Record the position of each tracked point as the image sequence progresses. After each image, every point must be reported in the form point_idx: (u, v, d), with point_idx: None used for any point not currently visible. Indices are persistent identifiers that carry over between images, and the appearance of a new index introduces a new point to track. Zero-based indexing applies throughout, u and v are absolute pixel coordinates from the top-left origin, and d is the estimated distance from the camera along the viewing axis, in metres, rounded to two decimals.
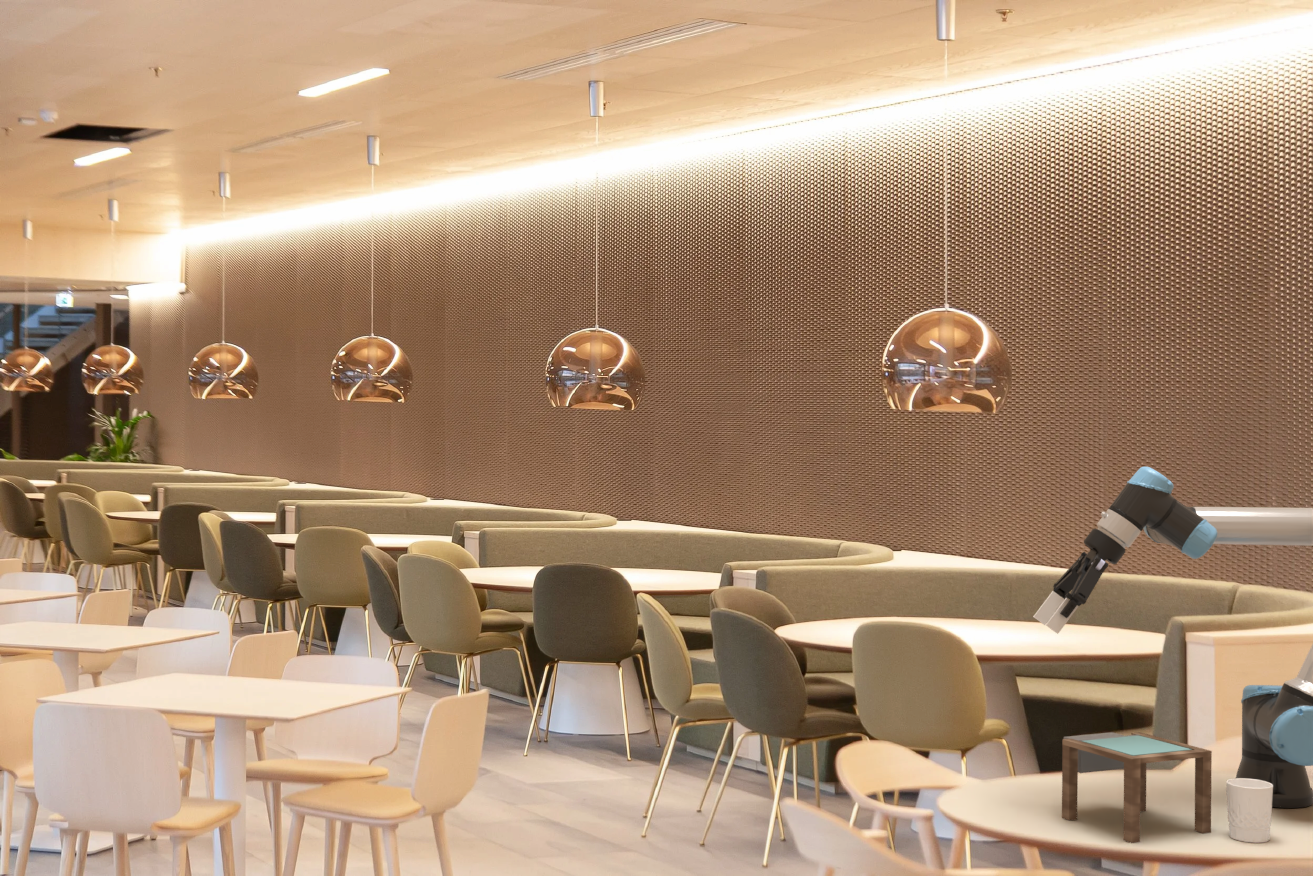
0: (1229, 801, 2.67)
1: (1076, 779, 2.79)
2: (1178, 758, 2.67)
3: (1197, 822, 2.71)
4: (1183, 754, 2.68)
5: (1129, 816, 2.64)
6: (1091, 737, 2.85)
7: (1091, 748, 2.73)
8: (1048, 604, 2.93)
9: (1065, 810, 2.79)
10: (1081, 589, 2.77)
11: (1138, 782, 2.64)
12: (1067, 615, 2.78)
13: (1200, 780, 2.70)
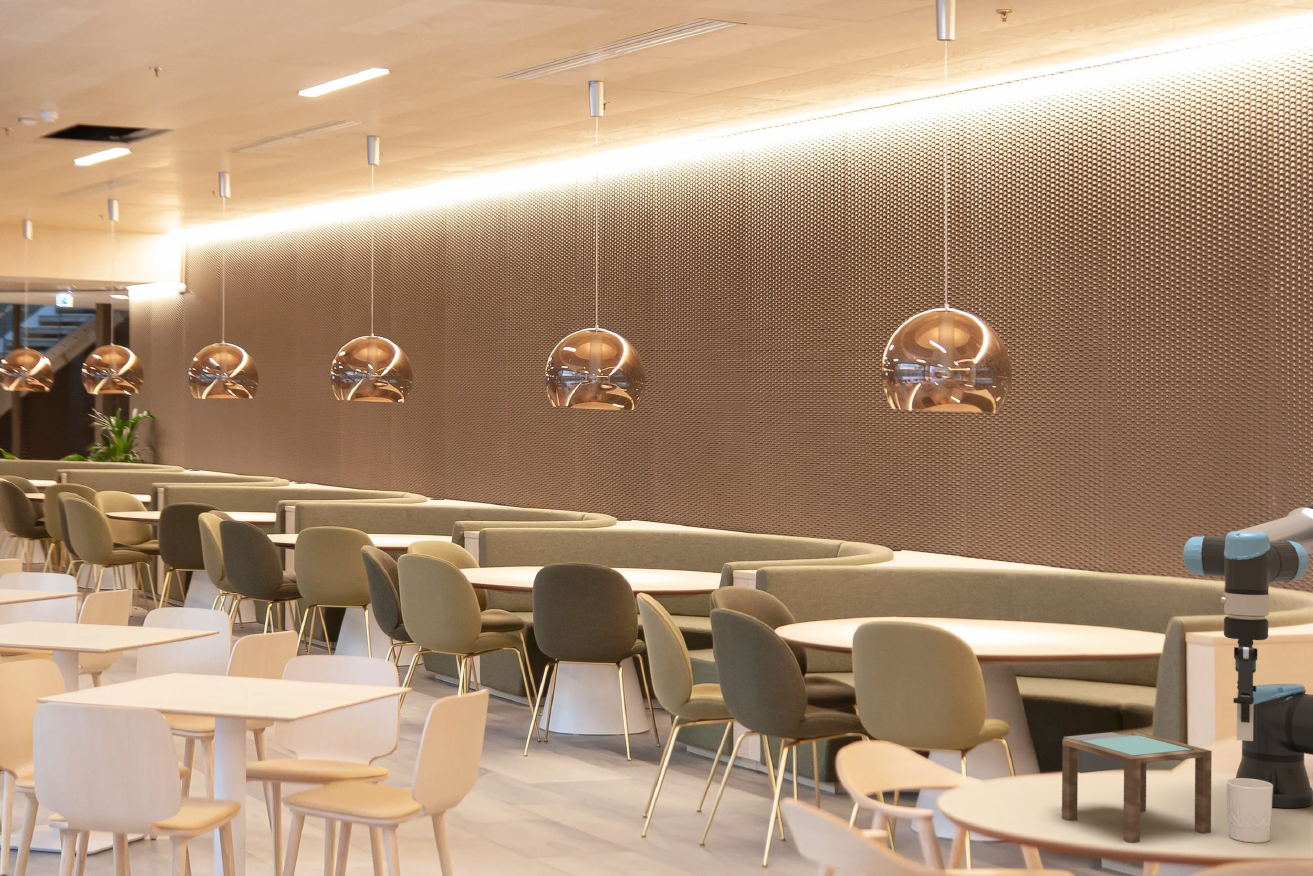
0: (1229, 801, 2.67)
1: (1076, 779, 2.79)
2: (1178, 758, 2.67)
3: (1197, 822, 2.71)
4: (1183, 754, 2.68)
5: (1129, 816, 2.64)
6: (1091, 737, 2.85)
7: (1091, 748, 2.73)
8: None
9: (1065, 810, 2.79)
10: (1241, 689, 2.59)
11: (1138, 782, 2.64)
12: (1247, 719, 2.59)
13: (1200, 780, 2.70)
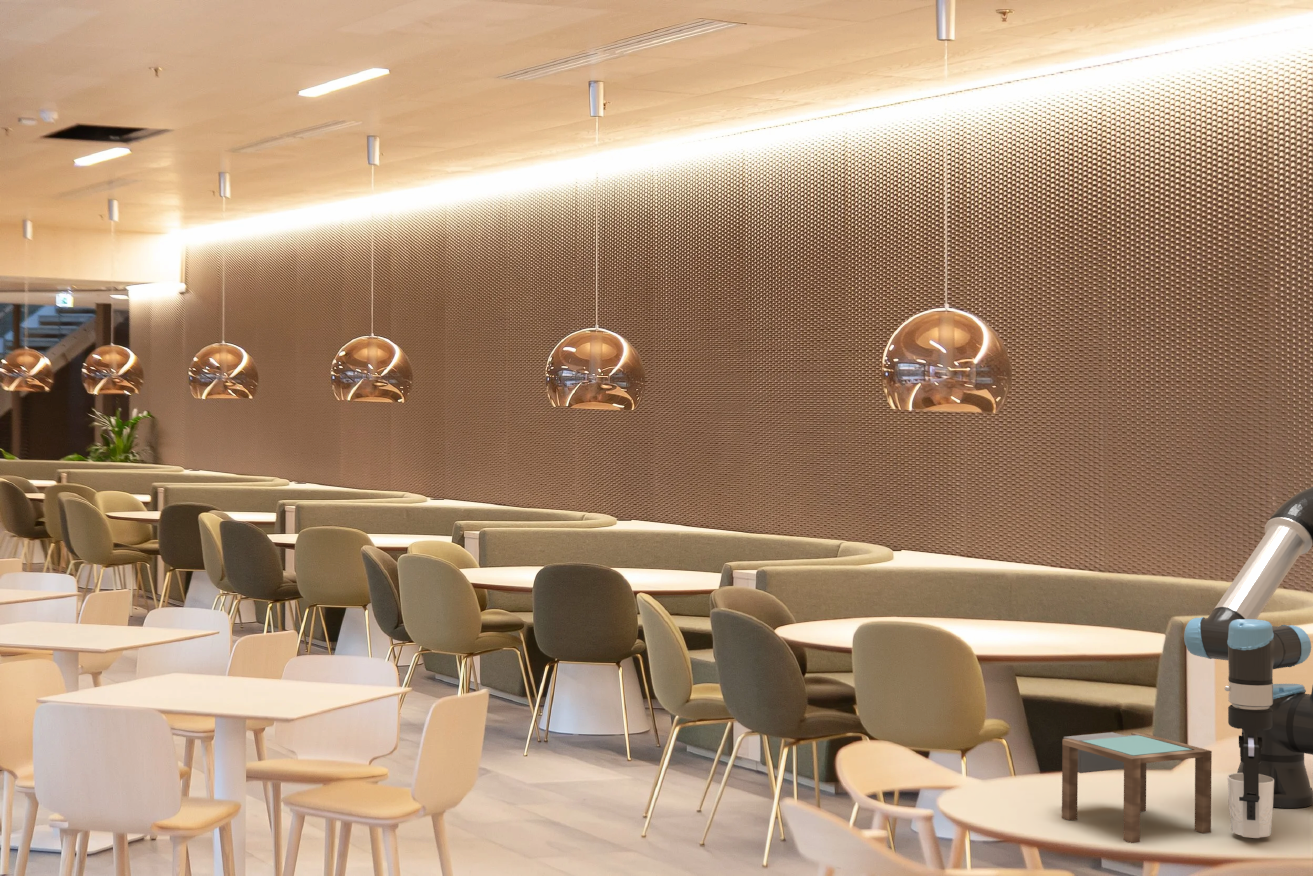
0: (1230, 796, 2.67)
1: (1076, 779, 2.79)
2: (1178, 758, 2.67)
3: (1197, 822, 2.71)
4: (1183, 754, 2.68)
5: (1129, 816, 2.64)
6: (1091, 737, 2.85)
7: (1091, 748, 2.73)
8: None
9: (1065, 810, 2.79)
10: (1247, 788, 2.61)
11: (1138, 782, 2.64)
12: (1253, 817, 2.62)
13: (1200, 780, 2.70)
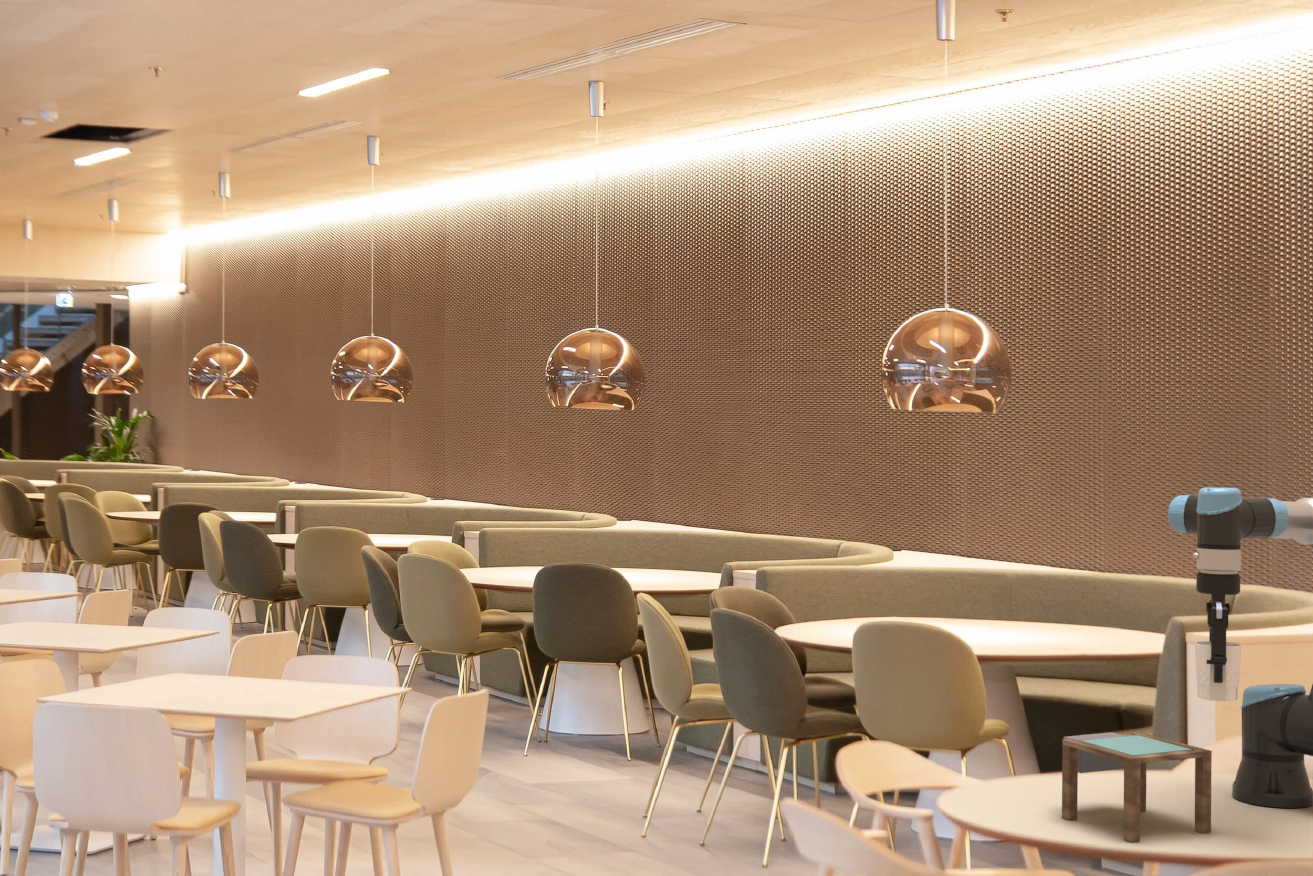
0: (1198, 661, 2.68)
1: (1076, 779, 2.79)
2: (1178, 758, 2.67)
3: (1197, 822, 2.71)
4: (1183, 754, 2.68)
5: (1129, 816, 2.64)
6: (1091, 737, 2.85)
7: (1091, 748, 2.73)
8: None
9: (1065, 810, 2.79)
10: (1215, 650, 2.62)
11: (1138, 782, 2.64)
12: (1220, 680, 2.63)
13: (1200, 780, 2.70)
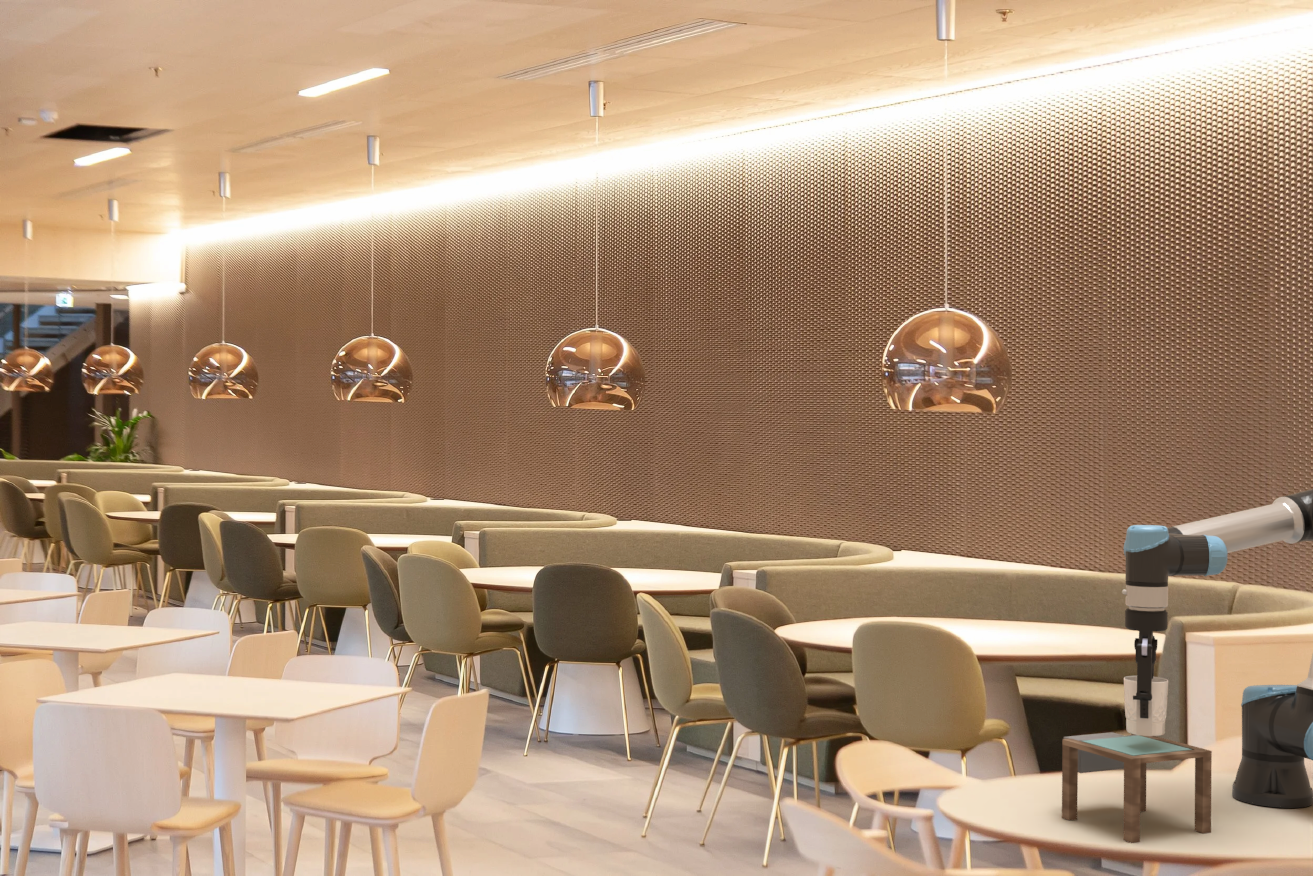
0: (1126, 696, 2.73)
1: (1076, 779, 2.79)
2: (1178, 758, 2.67)
3: (1197, 822, 2.71)
4: (1183, 754, 2.68)
5: (1129, 816, 2.64)
6: (1091, 737, 2.85)
7: (1091, 748, 2.73)
8: None
9: (1065, 810, 2.79)
10: (1140, 686, 2.67)
11: (1138, 782, 2.64)
12: (1146, 715, 2.68)
13: (1200, 780, 2.70)
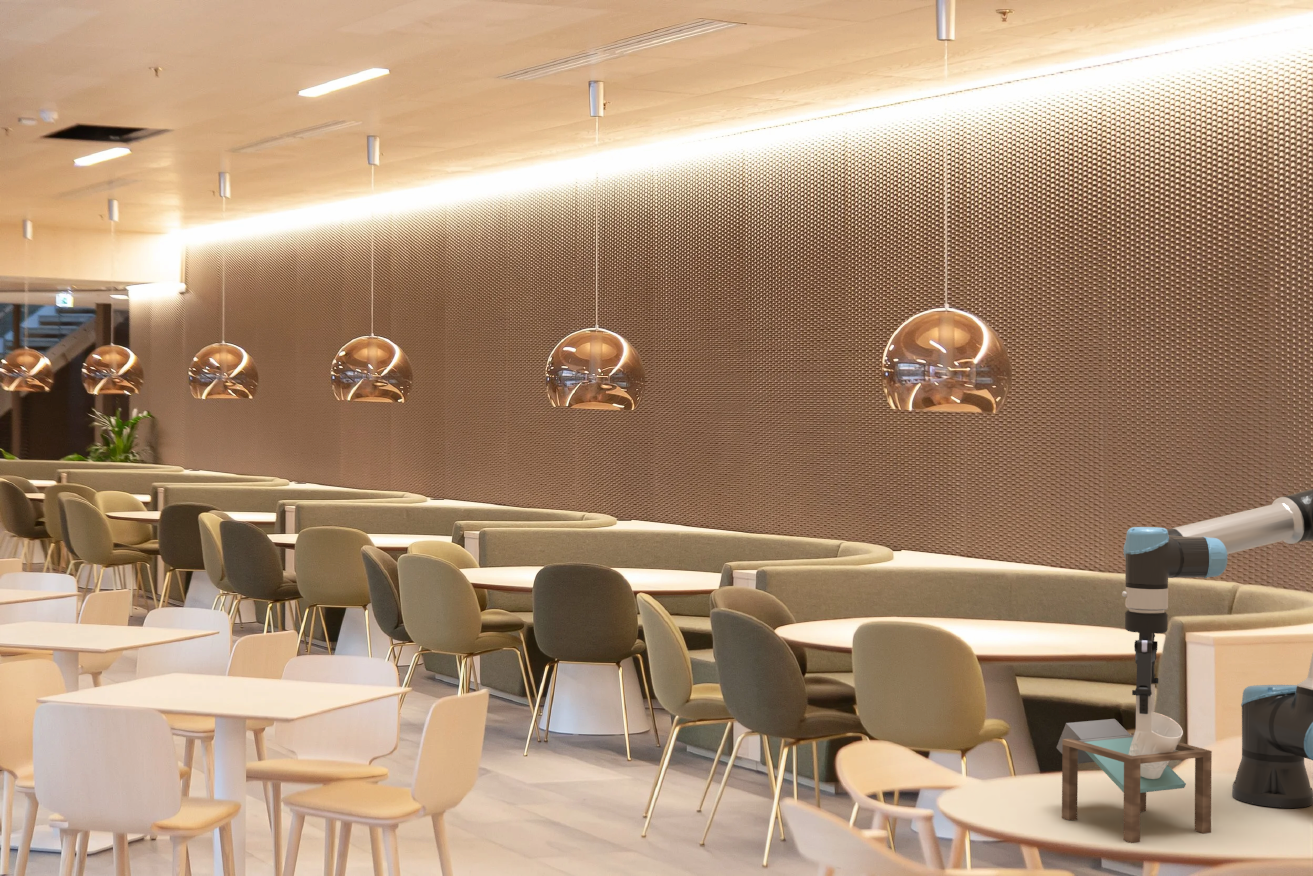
0: (1136, 737, 2.72)
1: (1076, 779, 2.79)
2: (1178, 758, 2.67)
3: (1197, 822, 2.71)
4: (1183, 754, 2.68)
5: (1129, 816, 2.64)
6: (1092, 729, 2.84)
7: (1091, 748, 2.73)
8: None
9: (1065, 810, 2.79)
10: (1139, 681, 2.65)
11: (1138, 782, 2.64)
12: (1146, 711, 2.65)
13: (1200, 780, 2.70)
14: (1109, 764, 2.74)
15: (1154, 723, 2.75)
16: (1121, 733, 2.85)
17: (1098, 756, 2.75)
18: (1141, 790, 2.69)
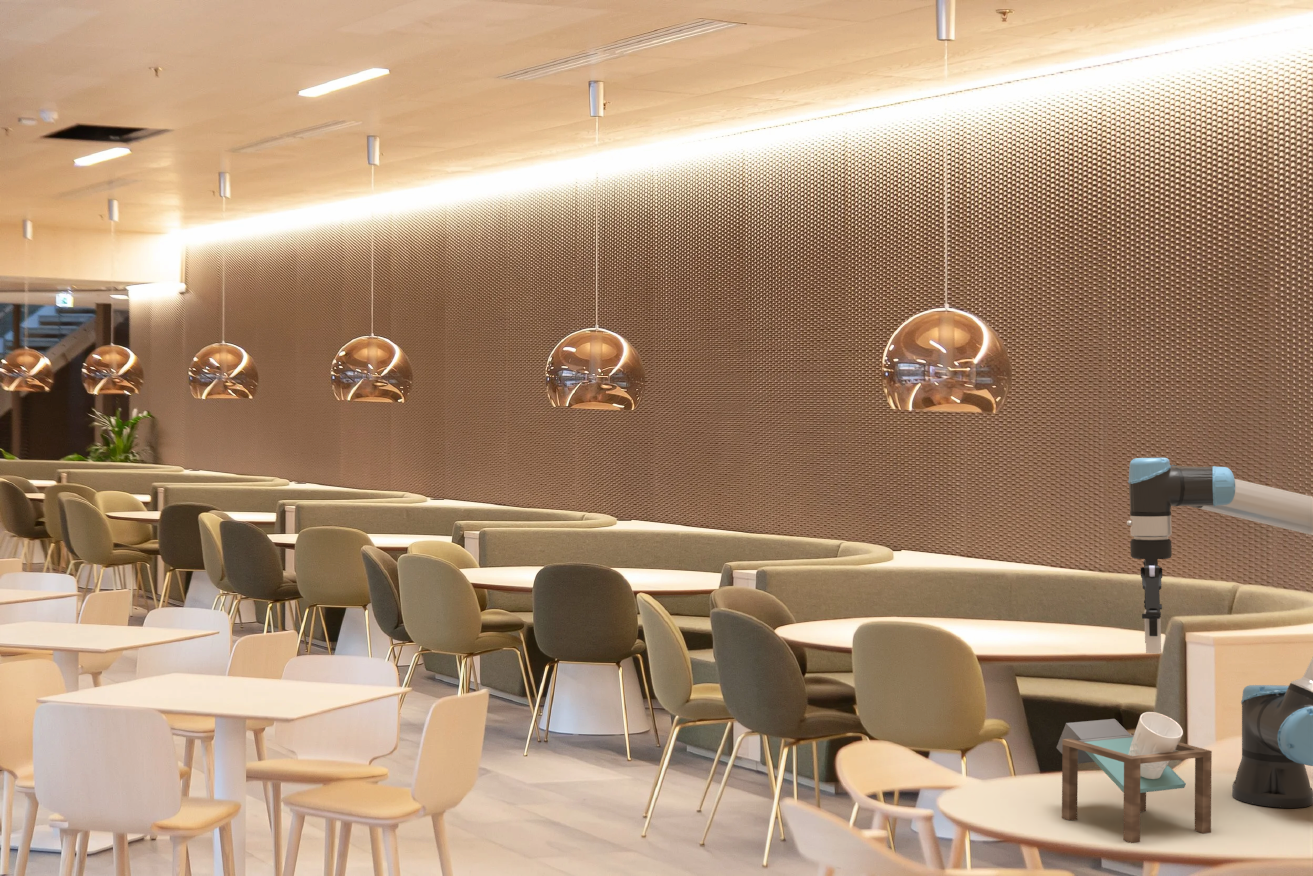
0: (1136, 737, 2.72)
1: (1076, 779, 2.79)
2: (1178, 758, 2.67)
3: (1197, 822, 2.71)
4: (1183, 754, 2.68)
5: (1129, 816, 2.64)
6: (1092, 729, 2.84)
7: (1091, 748, 2.73)
8: None
9: (1065, 810, 2.79)
10: (1149, 604, 2.74)
11: (1138, 782, 2.64)
12: (1155, 633, 2.75)
13: (1200, 780, 2.70)
14: (1109, 764, 2.74)
15: (1154, 723, 2.75)
16: (1121, 733, 2.85)
17: (1098, 756, 2.75)
18: (1141, 790, 2.69)
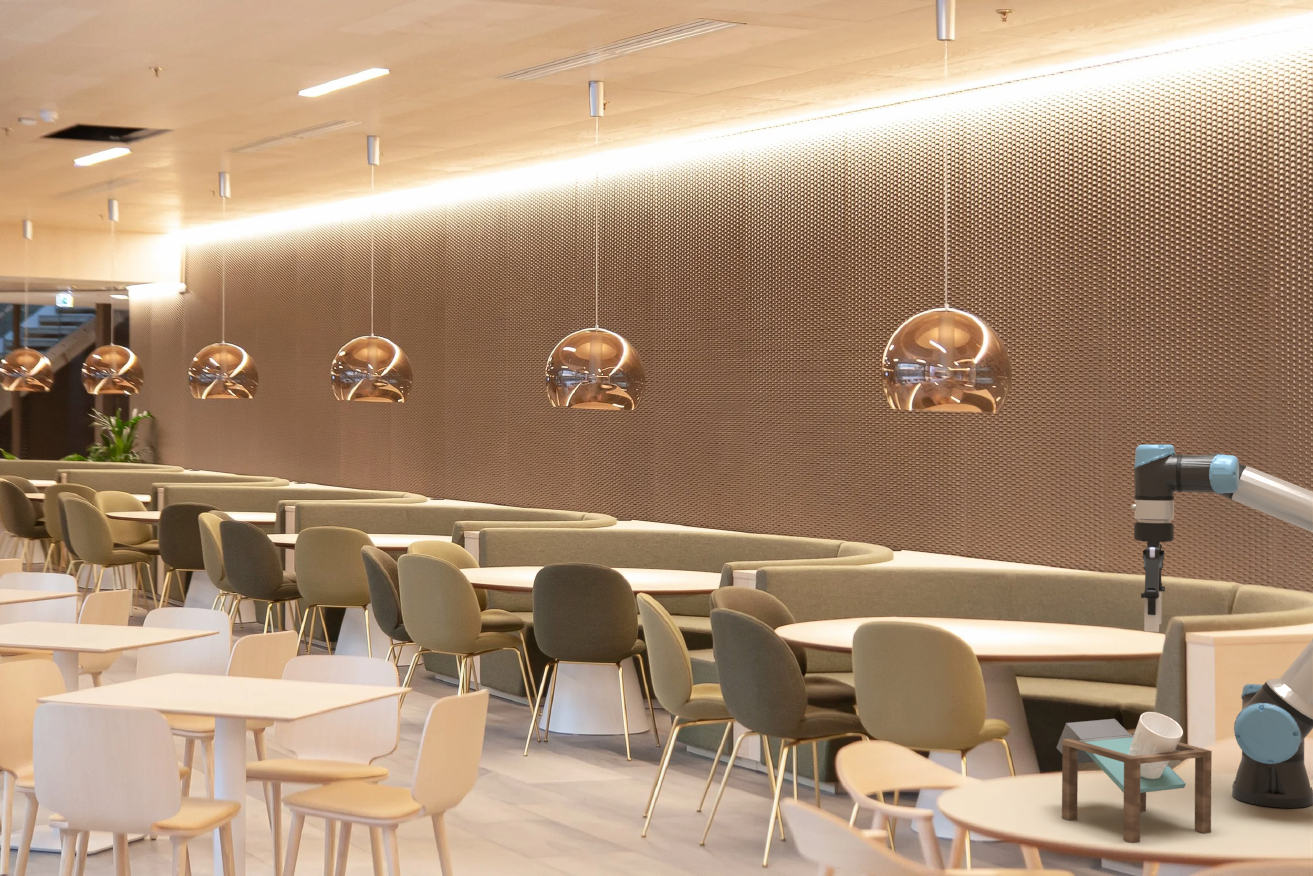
0: (1136, 737, 2.72)
1: (1076, 779, 2.79)
2: (1178, 758, 2.67)
3: (1197, 822, 2.71)
4: (1183, 754, 2.68)
5: (1129, 816, 2.64)
6: (1092, 729, 2.84)
7: (1091, 748, 2.73)
8: None
9: (1065, 810, 2.79)
10: (1147, 584, 2.85)
11: (1138, 782, 2.64)
12: (1153, 612, 2.86)
13: (1200, 780, 2.70)
14: (1109, 764, 2.74)
15: (1154, 723, 2.75)
16: (1121, 733, 2.85)
17: (1098, 756, 2.75)
18: (1141, 790, 2.69)
